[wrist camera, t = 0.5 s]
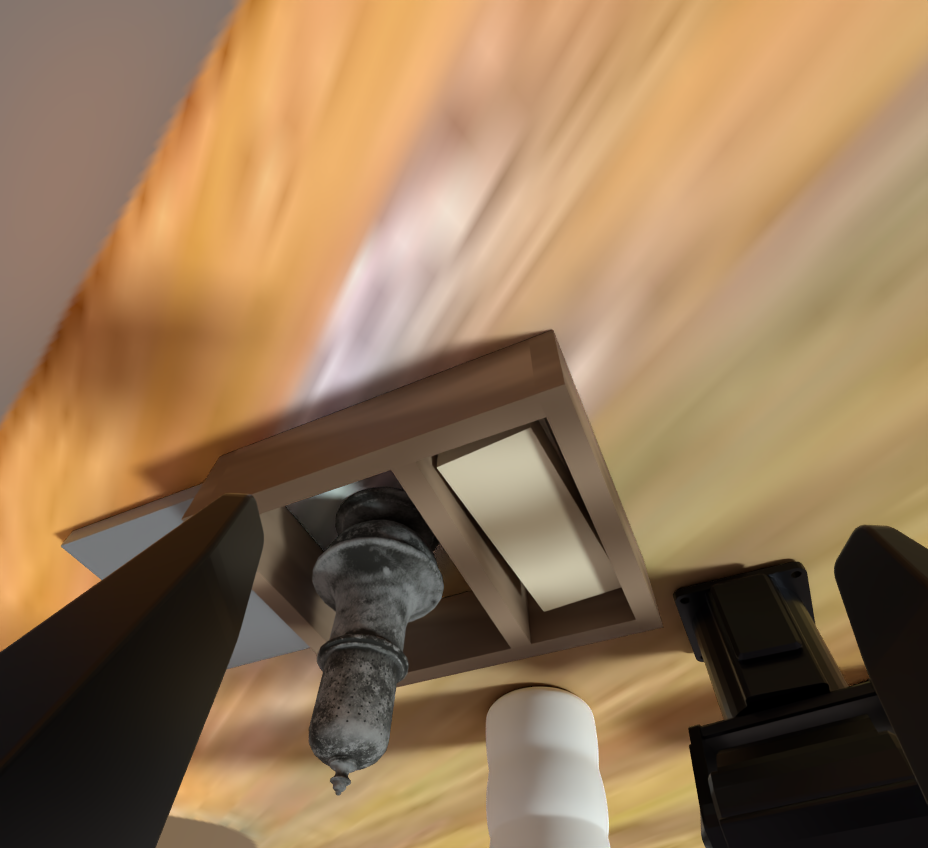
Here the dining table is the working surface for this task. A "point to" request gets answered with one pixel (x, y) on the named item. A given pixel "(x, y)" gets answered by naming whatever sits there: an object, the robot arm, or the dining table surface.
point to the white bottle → (544, 772)
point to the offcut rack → (443, 510)
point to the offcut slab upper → (531, 514)
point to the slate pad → (141, 528)
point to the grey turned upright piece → (369, 623)
